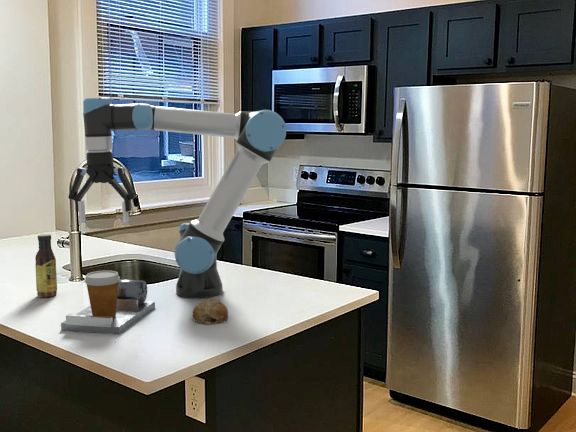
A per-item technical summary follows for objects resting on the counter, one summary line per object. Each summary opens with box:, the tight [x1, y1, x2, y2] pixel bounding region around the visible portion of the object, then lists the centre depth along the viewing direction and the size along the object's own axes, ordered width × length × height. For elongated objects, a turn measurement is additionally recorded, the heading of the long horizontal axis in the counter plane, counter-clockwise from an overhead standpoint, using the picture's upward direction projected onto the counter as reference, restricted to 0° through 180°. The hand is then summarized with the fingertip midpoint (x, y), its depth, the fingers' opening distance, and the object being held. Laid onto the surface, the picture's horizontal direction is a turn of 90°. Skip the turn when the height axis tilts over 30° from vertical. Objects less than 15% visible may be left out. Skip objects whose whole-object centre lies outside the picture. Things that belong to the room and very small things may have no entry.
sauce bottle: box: [34, 233, 58, 298], centre depth 209 cm, size 7×6×20 cm
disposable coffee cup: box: [84, 270, 121, 317], centre depth 182 cm, size 10×10×12 cm
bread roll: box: [192, 297, 229, 325], centre depth 185 cm, size 10×10×8 cm
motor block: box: [60, 279, 156, 335], centre depth 186 cm, size 17×25×9 cm
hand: (104, 222), depth 194 cm, fingers open, 13 cm apart
